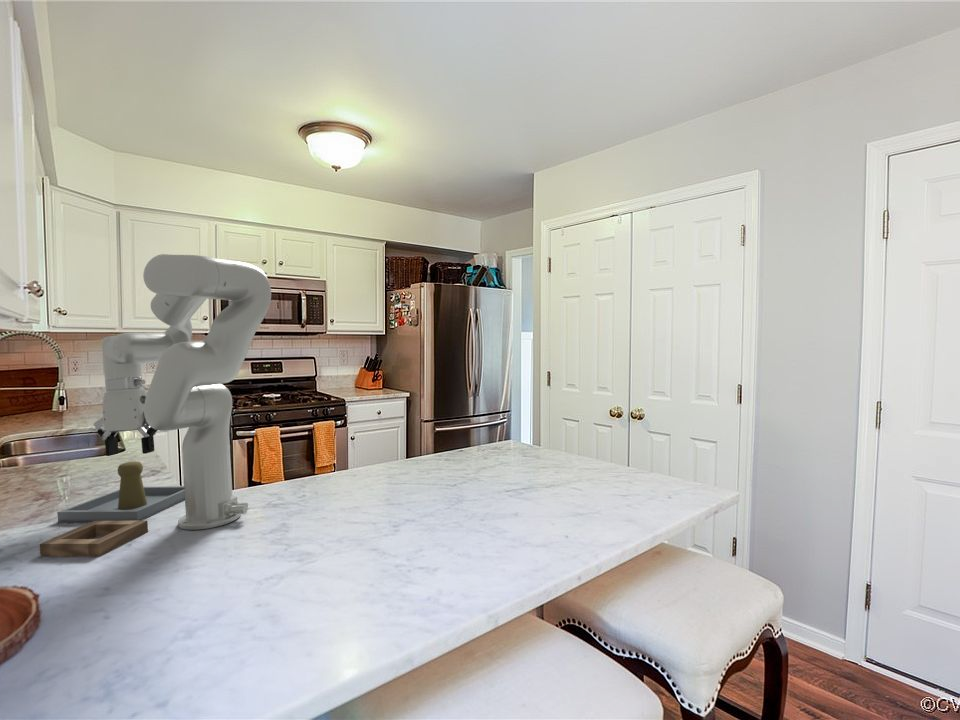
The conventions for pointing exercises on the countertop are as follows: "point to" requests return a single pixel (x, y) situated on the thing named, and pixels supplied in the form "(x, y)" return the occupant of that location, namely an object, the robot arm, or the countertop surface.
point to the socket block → (82, 545)
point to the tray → (108, 510)
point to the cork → (131, 486)
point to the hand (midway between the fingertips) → (130, 453)
